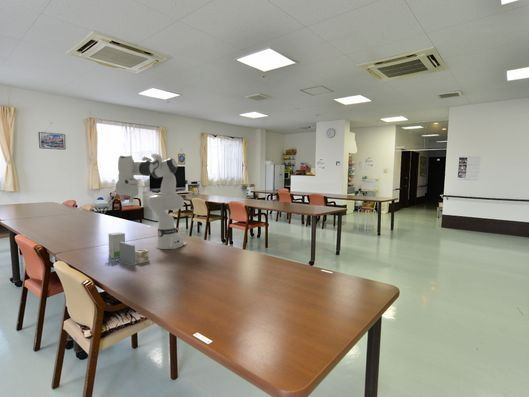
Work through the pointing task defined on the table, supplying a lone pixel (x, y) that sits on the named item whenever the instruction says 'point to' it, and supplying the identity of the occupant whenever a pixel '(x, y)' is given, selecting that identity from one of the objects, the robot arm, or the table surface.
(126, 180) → the robot arm
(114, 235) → the skincare box
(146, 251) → the letter cube
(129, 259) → the screen
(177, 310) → the table surface
